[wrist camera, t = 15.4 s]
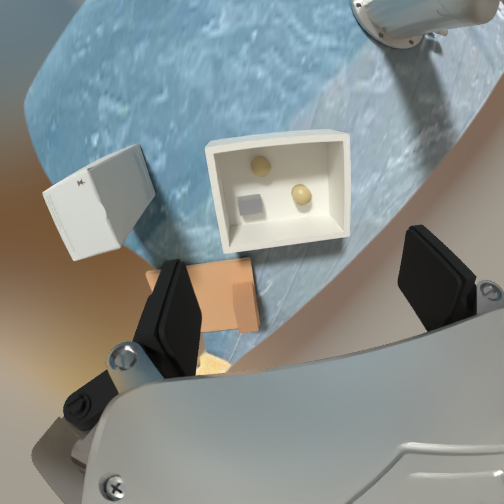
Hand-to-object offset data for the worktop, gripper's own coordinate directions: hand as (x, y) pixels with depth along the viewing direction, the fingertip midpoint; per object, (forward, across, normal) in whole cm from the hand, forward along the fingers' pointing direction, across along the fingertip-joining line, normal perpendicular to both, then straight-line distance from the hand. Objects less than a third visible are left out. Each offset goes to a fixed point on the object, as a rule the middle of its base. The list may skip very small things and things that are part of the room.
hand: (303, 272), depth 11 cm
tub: (+27, -2, +4) cm, 28 cm away
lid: (+26, +12, +22) cm, 36 cm away
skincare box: (+27, +18, 0) cm, 33 cm away
